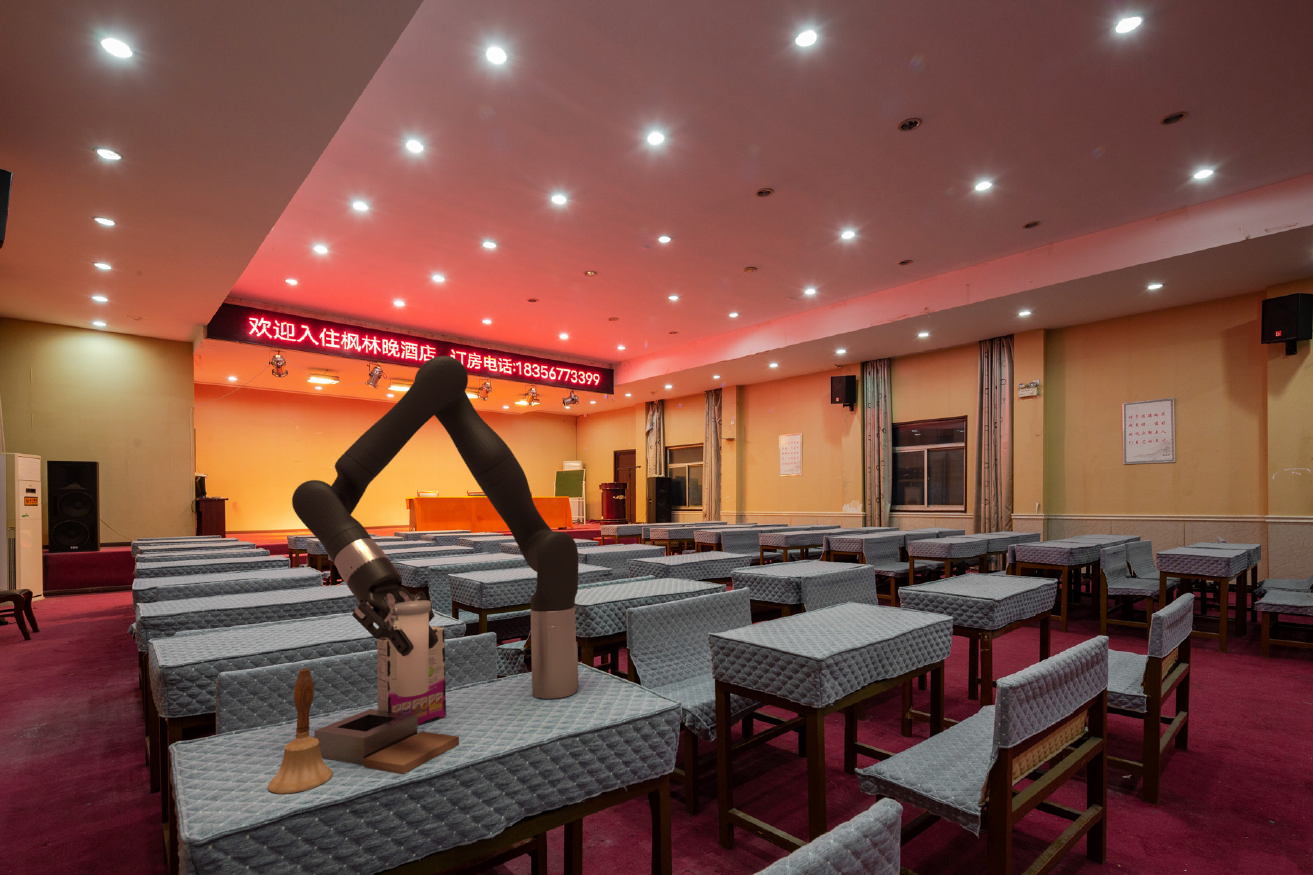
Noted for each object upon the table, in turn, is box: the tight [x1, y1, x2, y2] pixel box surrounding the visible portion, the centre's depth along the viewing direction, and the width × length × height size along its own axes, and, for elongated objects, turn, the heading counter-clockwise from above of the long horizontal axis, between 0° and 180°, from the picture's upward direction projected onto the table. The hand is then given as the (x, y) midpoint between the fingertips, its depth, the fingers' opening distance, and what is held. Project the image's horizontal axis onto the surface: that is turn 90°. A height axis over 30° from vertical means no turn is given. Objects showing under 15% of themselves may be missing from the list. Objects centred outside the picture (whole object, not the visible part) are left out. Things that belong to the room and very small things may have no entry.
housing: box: [313, 708, 418, 766], centre depth 104 cm, size 11×11×4 cm
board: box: [363, 731, 460, 775], centre depth 100 cm, size 12×8×1 cm, turn 156°
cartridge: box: [395, 600, 432, 697], centre depth 102 cm, size 5×5×14 cm
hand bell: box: [267, 667, 334, 795], centre depth 93 cm, size 8×8×16 cm
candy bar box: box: [376, 625, 447, 726], centre depth 116 cm, size 11×5×16 cm, turn 138°
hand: (421, 648), depth 101 cm, fingers closed on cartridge, 4 cm apart
